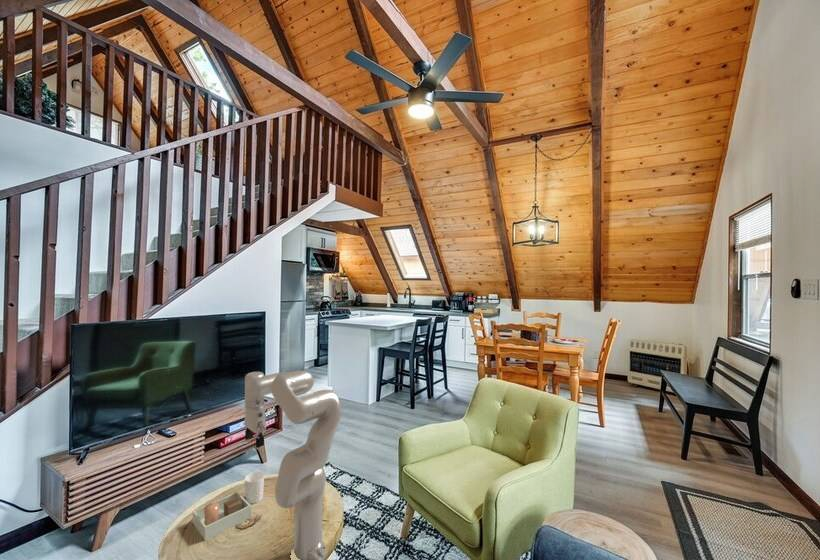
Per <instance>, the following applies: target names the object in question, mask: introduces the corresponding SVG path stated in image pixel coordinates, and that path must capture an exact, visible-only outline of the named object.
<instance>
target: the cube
mask: <svg viewBox="0 0 820 560" xmlns="http://www.w3.org/2000/svg"><path fill="white" fill-rule="evenodd" d="M241 509H242V502H241V501H240V500H239V499H238V498H237V497H235V498H233V499H231V500H228V501H226V502H224V515H225V516H228V515H230V514H232V513H235V512H237V511H239V510H241Z"/></svg>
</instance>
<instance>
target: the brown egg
mask: <svg viewBox="0 0 820 560" xmlns="http://www.w3.org/2000/svg"><path fill="white" fill-rule="evenodd" d="M204 506H205V508H204V523H205V525H206V526H207V525H209V524H211V523H214V522H216V521H218V520H219V504H218V503H213V502H211V503H207V504H206V505H204Z"/></svg>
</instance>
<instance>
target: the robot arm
mask: <svg viewBox="0 0 820 560" xmlns="http://www.w3.org/2000/svg"><path fill="white" fill-rule="evenodd" d="M244 376H245V377H244V408H245V410H244V411H245V413H244V417H243V419H244V426H245V427H244V431H245V433H244V434H245V435H244V439H245V441H248V440H250V439H253V438H254V433H255V436H256V438H255V448H257V449H258V448H261V447H264V445H265V436H266V435H265V434H266V431H267V424H266V423H267V420H266V418H267V417H266V410H265V396H267V395H271V394H272V397H273V399H274V400H275V402H276V404H277V405H278V406H279V408H280V409H281V410H282V411H283V413H284V414H285V416H286V417H287V419H288V420H289V421H290V422H291V423H293V424H294V425H302V424H305V423H307V422H310V421H313V420H316V421H314V423H313V425H312V426H311V428H310V429H309V432H308V436H307V439H306V441H305V442H304V444H302V445H301V446H299V447H297V448H294V449H292V450H290V451H288V452H287V453H286V454H285V455H284V456H283V458H282V460H281V462H280V465H279V469H278V474H277V479H276V483H275V487H274V488H275V489H274V497H275V501H276V503H277V504H278V506H279V507H281V508H282V509H290V508H292V507H294V506H295V507H294V544H293V545H294V546H292V548H291V550H292V549H294V553H295V555H296V557H297V558H298V559H300V560H325V559H326V558H327V544H326V543H325V542H324V541H323V506H324V505H323V502H324V494H325V493H324V492H325V487H326V484H327V483H326V482H327V481H326V480H327V477H326V475H327V474H326V472H325V471H326V470H325V469H324V467H325V466H326V464H327V462H328V460H329V455H330V451H331V448H332V445H333V441H334V440H333V439H334V437H335V434H336V432H337V430H338V426H339V424H340V422H341V418H342V417H341V416H342V405H341V404H342V403H341V400H340V397H339V395H338V394H337V392H336V391H333V390H331V389H322V390H317V391H314V392H311V393H308V392H310V391H311V390H312V388H313V386H314V384H315V380H314V376H313V375H312V373H310V372H309V371H306V370H292V371H282V372H281V371H280V372H276V373H271V374H267V375H265V374H264V372H262V371H252V372H248V373H247V374H246V375H244ZM304 394H305V395H304ZM322 541H323V542H322Z"/></svg>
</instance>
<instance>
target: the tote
mask: <svg viewBox="0 0 820 560" xmlns="http://www.w3.org/2000/svg"><path fill="white" fill-rule="evenodd" d="M235 497H237V498H238V499H239V500H240V501H241V502H242V509H241V510H239V511H237V512H235V513H232V514H230V515H228V516H225V515H224V502H226V501H228V500H231V499H233V498H235ZM212 503H218V504H219V520H218V521H216V522H214V523H211V524H209V525H207V526H206V525H205V523H204V508H205V506H206V505H204V506H202V507H199V508H197V509H194V510H193V511H192V525H193V524H194V525H193V526H194V527H195V529H196V531H198V533H199V535H200V536H201V537H202V539H203V541H204V542H205V541H208V540H209V539H211V538H214V537H215V536H217V535H219V534H221V533H223V532H225V531H227V530H229V529H232V528H233V527H236V526H237V525H239V524H241V523H244V522H245V521H247V520H249V519H251V518H252V504H249V503H248V502H247V501H246V498H244V497H243V496H242V495H241V494H240V493H239V491H236V492H233V493H231V494H229V495H227V496H225V497H222V498H219V499H217V500H215V501H213V502H212Z"/></svg>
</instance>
